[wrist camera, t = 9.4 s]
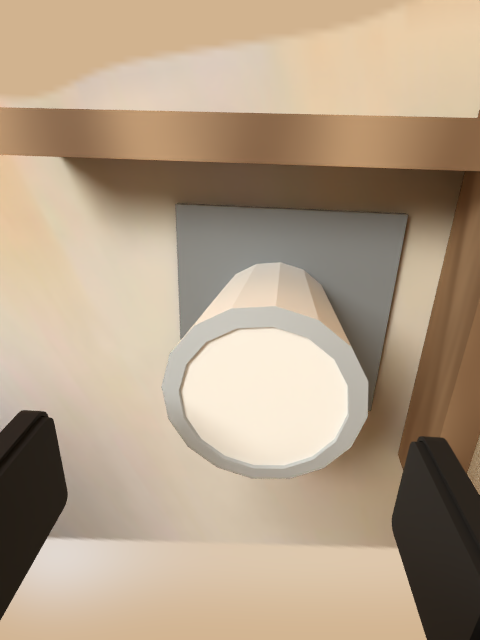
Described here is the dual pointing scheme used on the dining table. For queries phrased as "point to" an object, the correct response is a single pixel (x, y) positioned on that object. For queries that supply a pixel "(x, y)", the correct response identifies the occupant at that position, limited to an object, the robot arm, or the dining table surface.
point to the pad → (296, 262)
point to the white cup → (267, 378)
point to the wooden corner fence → (318, 150)
